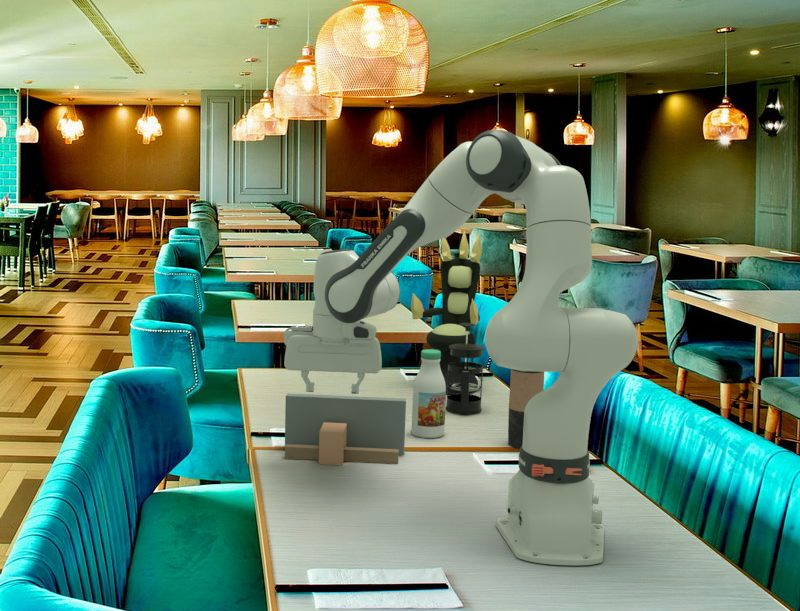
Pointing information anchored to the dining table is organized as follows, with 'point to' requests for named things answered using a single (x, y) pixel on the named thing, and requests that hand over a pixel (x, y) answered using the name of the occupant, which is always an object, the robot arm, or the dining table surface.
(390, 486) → the dining table surface
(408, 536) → the dining table surface
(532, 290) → the robot arm
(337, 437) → the block
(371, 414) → the cleat board
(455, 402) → the french press
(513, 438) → the travel mug
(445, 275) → the miniature padded chair
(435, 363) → the milk bottle
